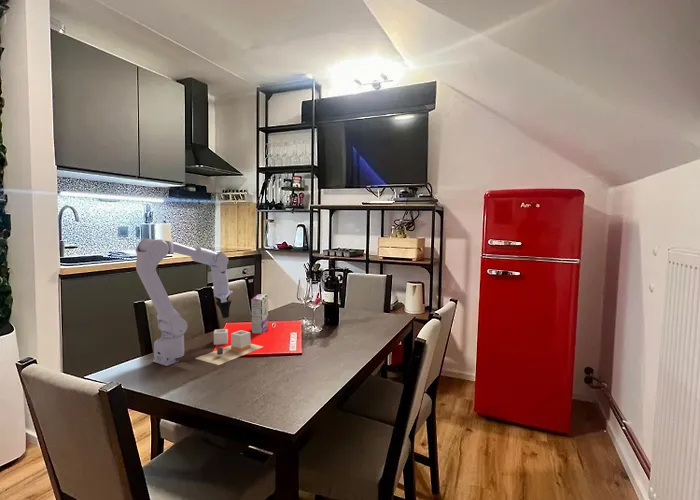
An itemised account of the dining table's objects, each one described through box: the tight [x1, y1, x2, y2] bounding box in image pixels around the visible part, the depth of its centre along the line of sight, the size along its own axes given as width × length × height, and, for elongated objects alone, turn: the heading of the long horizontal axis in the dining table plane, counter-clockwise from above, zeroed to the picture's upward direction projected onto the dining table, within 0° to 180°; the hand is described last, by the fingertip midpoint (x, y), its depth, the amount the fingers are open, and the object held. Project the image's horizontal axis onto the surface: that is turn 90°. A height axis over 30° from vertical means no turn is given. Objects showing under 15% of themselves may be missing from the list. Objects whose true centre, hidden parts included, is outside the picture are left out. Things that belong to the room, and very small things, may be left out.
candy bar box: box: [250, 293, 269, 334], centre depth 170 cm, size 11×5×16 cm, turn 179°
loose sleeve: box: [213, 328, 229, 346], centre depth 152 cm, size 5×5×6 cm
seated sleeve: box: [230, 330, 252, 351], centre depth 145 cm, size 5×5×6 cm
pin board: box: [194, 343, 264, 366], centre depth 141 cm, size 22×12×5 cm, turn 150°
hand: (225, 314), depth 154 cm, fingers open, 7 cm apart
